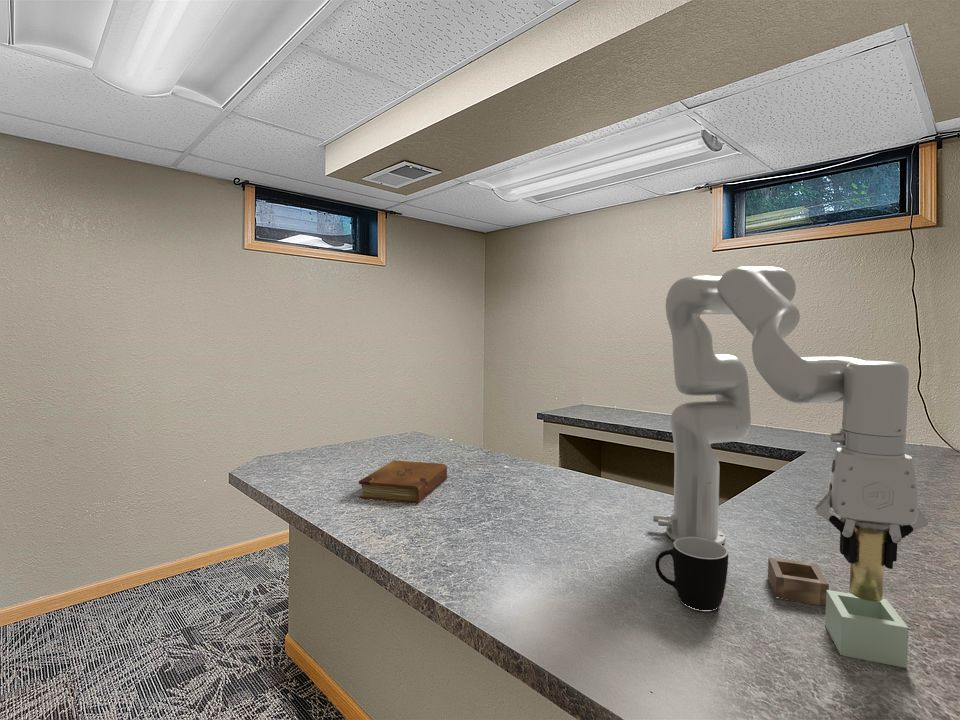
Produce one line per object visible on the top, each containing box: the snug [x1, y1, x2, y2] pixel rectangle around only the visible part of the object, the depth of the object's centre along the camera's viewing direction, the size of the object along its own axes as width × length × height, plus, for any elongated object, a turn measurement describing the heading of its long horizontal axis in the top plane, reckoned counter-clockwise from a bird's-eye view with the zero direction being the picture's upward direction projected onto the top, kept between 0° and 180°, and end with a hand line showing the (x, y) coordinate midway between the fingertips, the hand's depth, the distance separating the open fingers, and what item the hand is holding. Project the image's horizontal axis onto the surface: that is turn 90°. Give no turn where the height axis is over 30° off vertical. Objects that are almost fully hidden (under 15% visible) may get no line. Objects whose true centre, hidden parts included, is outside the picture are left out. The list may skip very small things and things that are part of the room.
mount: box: [767, 556, 830, 607], centre depth 92 cm, size 8×8×4 cm
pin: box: [848, 520, 890, 602], centre depth 76 cm, size 5×5×12 cm
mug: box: [654, 537, 729, 610], centre depth 90 cm, size 12×9×10 cm
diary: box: [358, 459, 448, 505], centre depth 153 cm, size 23×19×6 cm
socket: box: [824, 589, 910, 669], centre depth 77 cm, size 8×8×6 cm
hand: (867, 560), depth 76 cm, fingers closed on pin, 4 cm apart
